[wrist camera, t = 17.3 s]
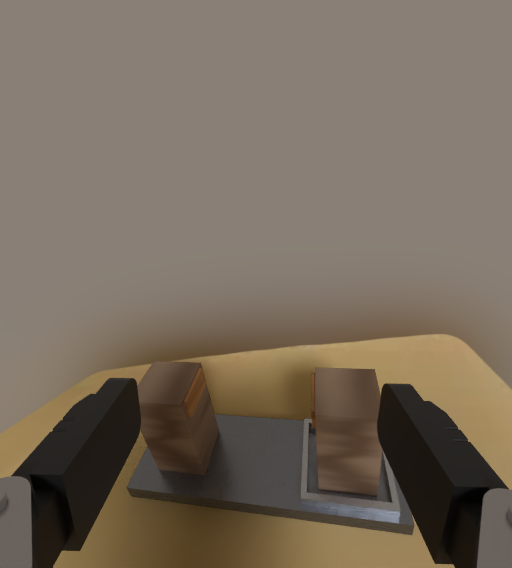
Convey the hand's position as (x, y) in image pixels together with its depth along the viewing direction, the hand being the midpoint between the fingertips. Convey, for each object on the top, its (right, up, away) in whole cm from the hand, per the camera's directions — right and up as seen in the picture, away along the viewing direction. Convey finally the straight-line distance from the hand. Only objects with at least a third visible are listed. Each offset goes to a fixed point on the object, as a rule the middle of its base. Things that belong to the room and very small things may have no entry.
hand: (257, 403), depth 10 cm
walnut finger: (+9, -13, +19) cm, 25 cm away
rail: (+1, -15, +22) cm, 26 cm away
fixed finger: (-7, -14, +23) cm, 28 cm away
